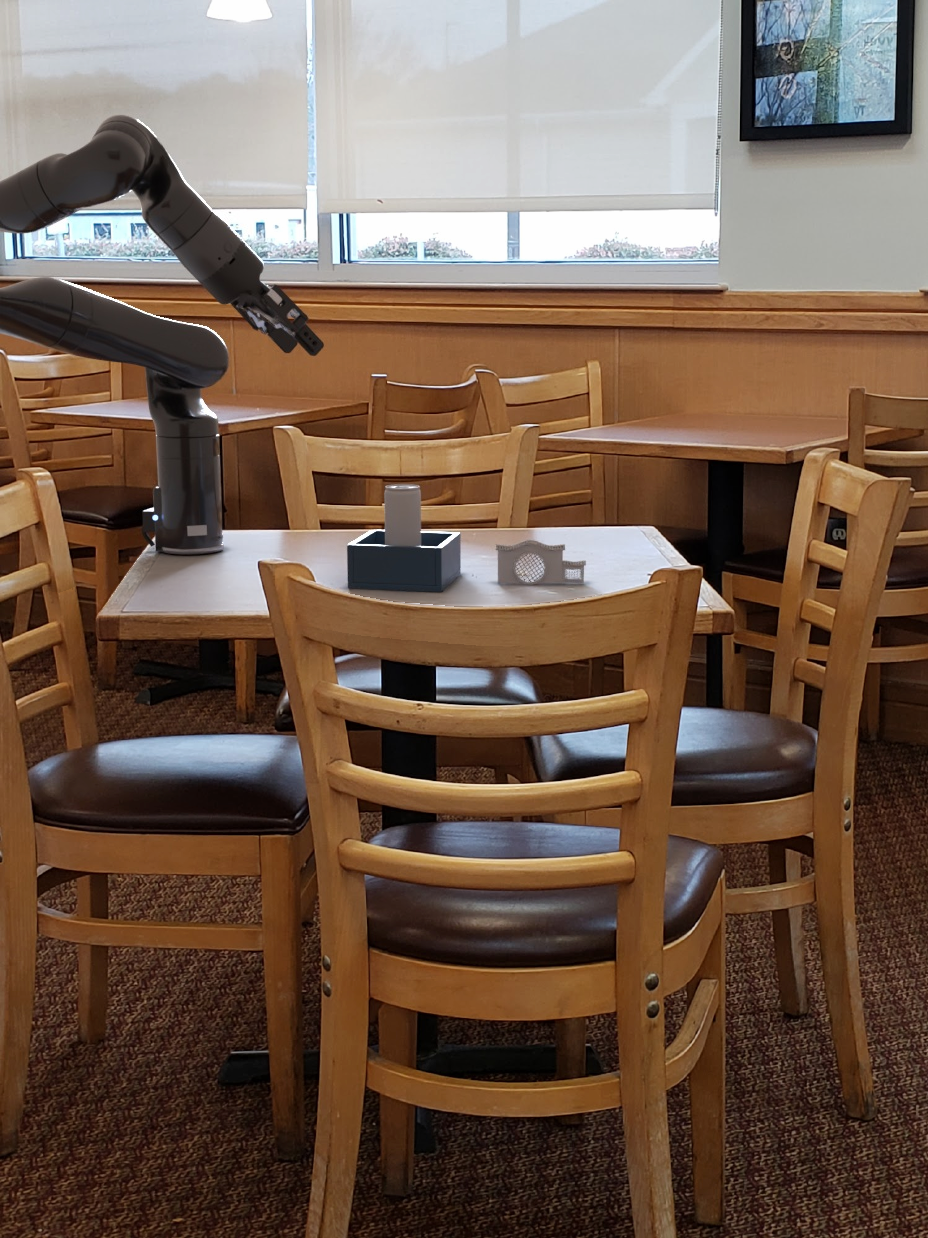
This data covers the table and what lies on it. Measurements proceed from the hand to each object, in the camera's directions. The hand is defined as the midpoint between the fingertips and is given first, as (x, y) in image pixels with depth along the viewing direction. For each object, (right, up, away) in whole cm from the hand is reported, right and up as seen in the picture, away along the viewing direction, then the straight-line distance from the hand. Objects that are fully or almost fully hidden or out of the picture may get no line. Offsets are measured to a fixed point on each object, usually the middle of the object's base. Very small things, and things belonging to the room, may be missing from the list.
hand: (305, 349), depth 189 cm
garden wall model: (+31, -30, +7) cm, 43 cm away
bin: (+13, -30, +8) cm, 33 cm away
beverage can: (+12, -29, +8) cm, 32 cm away
